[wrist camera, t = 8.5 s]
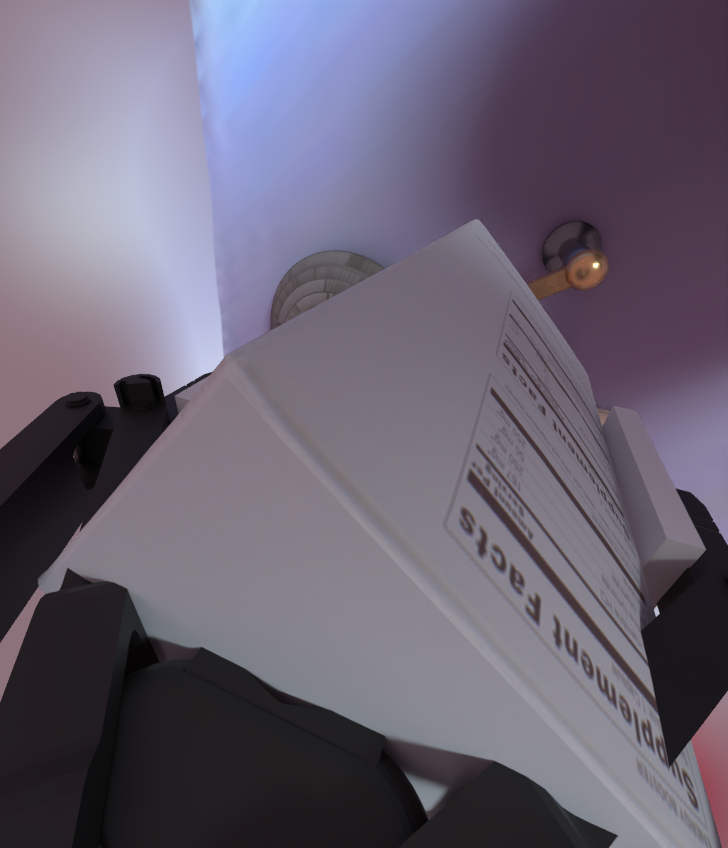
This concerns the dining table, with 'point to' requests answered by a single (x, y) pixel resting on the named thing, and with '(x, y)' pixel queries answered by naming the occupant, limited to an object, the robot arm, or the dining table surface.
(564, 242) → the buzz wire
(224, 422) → the supplement box
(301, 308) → the flying saucer
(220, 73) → the dining table surface
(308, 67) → the dining table surface
